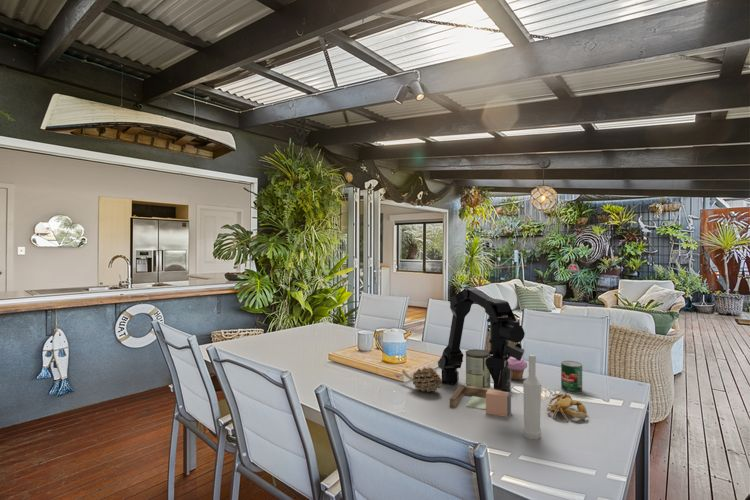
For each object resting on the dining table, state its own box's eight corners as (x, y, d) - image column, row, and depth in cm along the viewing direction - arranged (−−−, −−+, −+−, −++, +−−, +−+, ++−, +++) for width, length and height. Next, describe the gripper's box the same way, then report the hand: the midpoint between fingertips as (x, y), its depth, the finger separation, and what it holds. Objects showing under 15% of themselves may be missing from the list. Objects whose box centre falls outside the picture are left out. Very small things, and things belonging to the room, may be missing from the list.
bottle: (520, 432, 129) (520, 353, 129) (536, 431, 130) (536, 353, 130) (527, 440, 124) (528, 357, 124) (544, 439, 125) (544, 357, 124)
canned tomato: (582, 388, 169) (582, 362, 169) (582, 394, 162) (582, 367, 162) (561, 385, 173) (561, 359, 173) (560, 391, 165) (561, 364, 165)
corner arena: (449, 406, 150) (449, 398, 150) (460, 391, 165) (460, 384, 165) (494, 414, 143) (494, 405, 143) (501, 397, 159) (501, 390, 159)
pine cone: (448, 393, 164) (448, 368, 164) (433, 399, 157) (433, 373, 157) (407, 380, 180) (407, 357, 180) (392, 385, 173) (392, 362, 173)
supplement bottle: (511, 393, 164) (511, 363, 164) (494, 391, 166) (494, 362, 165) (509, 387, 171) (509, 358, 171) (492, 386, 172) (492, 357, 172)
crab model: (586, 427, 134) (587, 410, 134) (544, 418, 140) (545, 402, 140) (589, 410, 147) (589, 395, 147) (550, 403, 154) (551, 389, 153)
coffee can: (466, 380, 180) (467, 348, 180) (491, 382, 176) (491, 350, 176) (464, 388, 170) (464, 354, 170) (489, 390, 167) (489, 356, 167)
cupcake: (505, 380, 180) (505, 357, 180) (506, 374, 188) (506, 353, 188) (526, 383, 176) (526, 359, 176) (527, 377, 184) (527, 354, 184)
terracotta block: (485, 413, 144) (485, 393, 144) (487, 408, 148) (488, 389, 148) (509, 417, 141) (509, 396, 141) (511, 412, 145) (511, 392, 145)
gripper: (520, 344, 133) (520, 392, 133) (525, 333, 150) (524, 375, 150) (485, 341, 137) (485, 387, 138) (493, 330, 154) (493, 371, 154)
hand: (498, 380), depth 145 cm, fingers open, 9 cm apart
